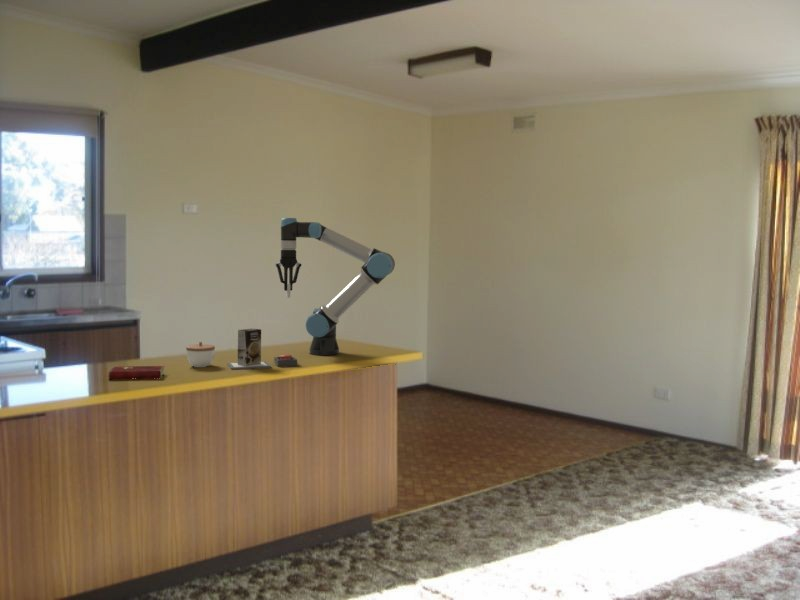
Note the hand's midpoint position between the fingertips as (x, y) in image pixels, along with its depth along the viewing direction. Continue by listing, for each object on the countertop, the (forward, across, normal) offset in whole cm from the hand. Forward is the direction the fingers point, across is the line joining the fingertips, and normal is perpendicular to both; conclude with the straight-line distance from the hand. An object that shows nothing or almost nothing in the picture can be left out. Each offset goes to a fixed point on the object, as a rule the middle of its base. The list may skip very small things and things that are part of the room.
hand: (288, 297), depth 391 cm
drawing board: (+29, +23, +23) cm, 44 cm away
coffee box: (+29, +23, +23) cm, 43 cm away
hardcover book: (+30, +72, +36) cm, 86 cm away
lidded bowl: (+30, +44, +17) cm, 56 cm away
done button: (+28, +6, +23) cm, 37 cm away
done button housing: (+29, +6, +23) cm, 38 cm away
